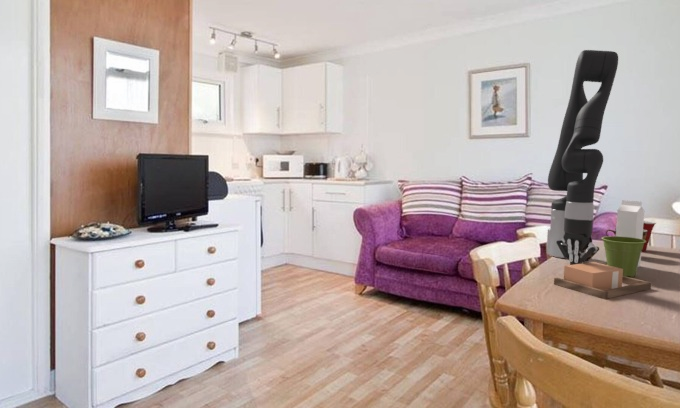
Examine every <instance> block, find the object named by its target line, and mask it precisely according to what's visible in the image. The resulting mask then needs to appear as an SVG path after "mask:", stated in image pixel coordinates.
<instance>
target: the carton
mask: <svg viewBox="0 0 680 408" xmlns="http://www.w3.org/2000/svg"><path fill="white" fill-rule="evenodd" d="M622 277H623V269H621V268H617V267H613V266H608V265H607V264H603V263H600V262H596V261H589V262H582V264H574V265H570V264H567V265H564V267H563V279H564V280H568V281H571V282H575V283H579V284H582V285H586V286H589V287H593V288H597V289H600V290H608V289H613V288H618V287H623V283H622Z"/></svg>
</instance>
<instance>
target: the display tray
mask: <svg viewBox="0 0 680 408" xmlns="http://www.w3.org/2000/svg"><path fill="white" fill-rule="evenodd" d="M622 284H625V285H624V286H623V285H622V287H618V288H613V289H608V290H600V289H597V288H593V287H589V286H586V285H582V284H579V283H575V282H571V281H568V280H564V278H561V277H554V278H553V285H556V286H559V287H563V288H566V289H569V290H573V291H575V292H580V293H583V294H586V295H589V296H593V297H596V298H600V299H603V300H606V299H611V298H616V297H620V296H624V295H630V294H633V293H638V292H643V291H647V290H652V282H650V281H646V280H642V279H638V278H634V277H630V276H627V277H626V276H623V277H622Z"/></svg>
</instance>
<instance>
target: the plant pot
mask: <svg viewBox="0 0 680 408" xmlns="http://www.w3.org/2000/svg"><path fill="white" fill-rule="evenodd" d="M601 240H602V241H603V247H604V250H605V257H606V265H608V266H613V267H617V268H621V269H623V276H626V277H630V278H634V277H635V276H636V275H637V269H638V267H637V266H638V262H639V258H640V254H641V255H642V251H641V250H642V249H643V246H644V243H646V240H643V239H638V238H632V237H619V236H615V235H614V236H610V235H608V236H602V237H601Z"/></svg>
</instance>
